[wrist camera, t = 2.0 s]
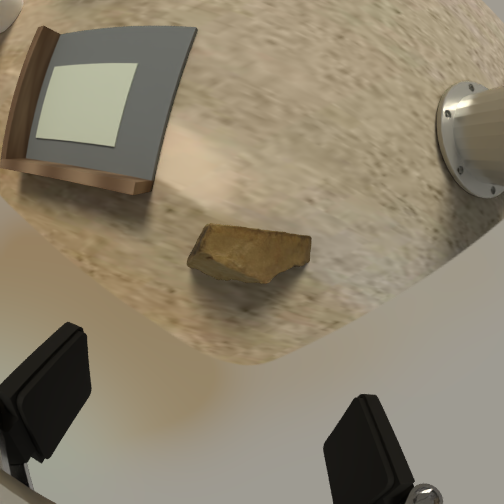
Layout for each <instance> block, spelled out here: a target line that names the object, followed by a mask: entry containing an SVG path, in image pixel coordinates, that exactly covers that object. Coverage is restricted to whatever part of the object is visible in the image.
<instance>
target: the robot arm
mask: <svg viewBox="0 0 504 504" xmlns="http://www.w3.org/2000/svg"><path fill="white" fill-rule="evenodd" d="M437 135H438V141H439V146H440V150H441V153H442V156H443V159H444V161H445V164H446V166H447V168H448V170H449V172H450V173H451V175H452V176H453V178H454V179H455V181H456V182H457V183H458V184H459V185H460V186H461V187H462V188H463V189H464V190H465V191H467V192H468V193H469V194H472V195H474V196H476V197H481V198H493V197H496V196H498V195H500V194H501V193H502V192H504V86H501V87H497V88H493V89H488V88H486V87H484V86H483V85H481V84H479V83H476V82H473V81H462V82H459V83H456V84H454V85H452V86H451V87H449V88H448V89H447V90H446V91H445V93H444V94H443V96H442V98H441V100H440V103H439V106H438V112H437ZM90 394H91V380H90V371H89V360H88V347H87V335H86V334H85V333H84V331H83V328H82V327H79V326H77V325H75V324H72V323H70V322H67V323H65V324H64V325H63V326H62V327H60V328H59V329H58V330H57V331H56V332H55V333H54V334H53V335H51V336H50V337H49V338H48V339H47V340H46V341H45V342H44V343H43V344H42V345H41V346H39V347H38V348H37V349H36V350H35V351H34V352H33V353H32V354H31V355H30V356H29V357H28V358H27V359H26V360H25V361H24V362H23V363H21V365H20V366H18V368H16V369H15V370H14V371H13V372H12V373H11V374H10V375H9V377H7V378H6V379H5V380H4V381H3V383H1V384H0V504H56V503H54V502H52V501H51V500H49V499H47V498H45V497H43V496H42V495H40V494H38V493H36V492H35V491H34V488H33V484H32V481H31V477H30V473H29V469H28V465H27V462H28V461H29V459H30V457H32V458H34V459H35V460H37V461H39V462H40V463H42V462H43V461H44V459H45V458H46V459H49V458H50V457H51V456H52V454H53V452H54V451H55V449H56V447H57V446H58V444H59V443H60V441H61V439H62V438H63V436H64V435H65V433H66V431H67V430H68V428H69V427H70V425H71V424H72V422H73V420H74V419H75V417H76V416H77V414H78V413H79V411H80V410H81V408H82V407H83V405H84V404H85V402H86V401H87V399H88V398H89V396H90ZM323 451H324V457H325V462H326V466H327V472H328V477H329V483H330V488H331V494H332V498H333V504H443V499H442V495H441V493H440V492H439V490H438V489H437V488H436V487H434V486H432V485H430V484H419V485H416V486H415V487H414V485H413V483H414V482H415V480H414V478H413V475H412V473H411V471H410V468H409V466H408V464H407V461H406V459H405V456H404V454H403V452H402V449H401V447H400V445H399V442H398V440H397V438H396V436H395V434H394V431H393V429H392V427H391V425H390V422H389V420H388V418H387V416H386V414H385V411H384V409H383V407H382V405H381V403H380V401H379V399H378V397H377V396H376V395H369V394H361V395H359V396H358V397H357V398H354V399H353V401H352V402H351V404H350V406H349V407H348V409H347V410H346V412H345V413H344V415H343V416H342V418H341V420H340V421H339V423H338V424H337V425H336V427H335V429H334V430H333V431H332V433H331V434H330V436H329V437H328V438H327V440H326V441H325V443H324V447H323Z"/></svg>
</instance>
